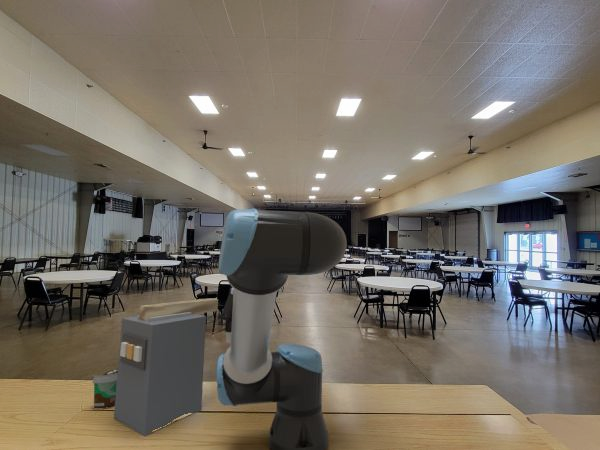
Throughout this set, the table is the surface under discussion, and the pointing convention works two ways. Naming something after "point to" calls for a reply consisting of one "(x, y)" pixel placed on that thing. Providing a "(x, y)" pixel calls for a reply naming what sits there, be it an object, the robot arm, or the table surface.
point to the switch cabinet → (159, 370)
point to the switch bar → (178, 308)
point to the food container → (105, 389)
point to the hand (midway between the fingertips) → (244, 338)
